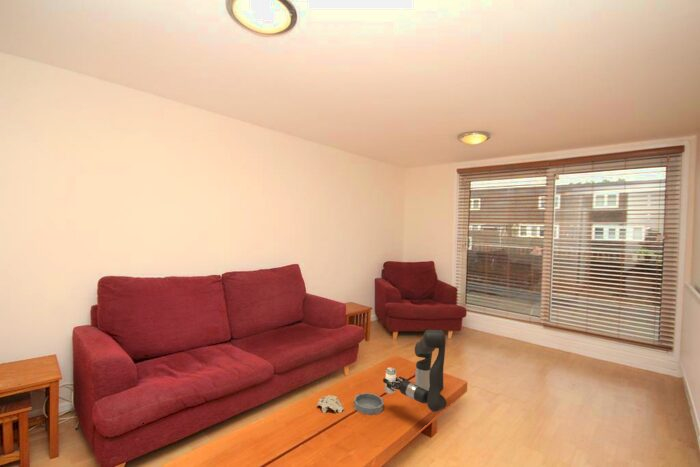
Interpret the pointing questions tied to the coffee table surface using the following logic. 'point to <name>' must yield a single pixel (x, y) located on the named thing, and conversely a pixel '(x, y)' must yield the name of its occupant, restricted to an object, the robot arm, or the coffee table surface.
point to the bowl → (368, 403)
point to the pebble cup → (390, 379)
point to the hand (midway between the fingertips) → (387, 378)
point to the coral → (330, 403)
